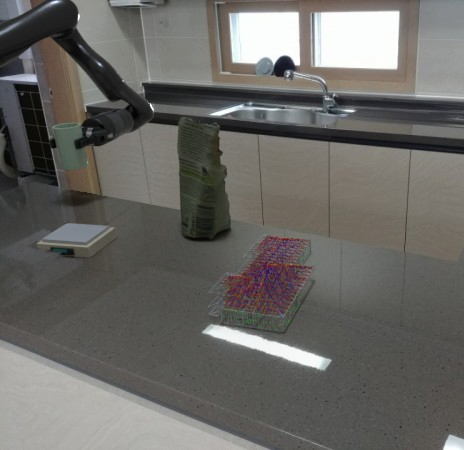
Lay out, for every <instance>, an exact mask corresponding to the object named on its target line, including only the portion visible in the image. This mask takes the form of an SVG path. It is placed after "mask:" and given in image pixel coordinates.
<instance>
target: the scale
mask: <svg viewBox="0 0 464 450" xmlns="http://www.w3.org/2000/svg"><path fill="white" fill-rule="evenodd" d="M117 238H118V236H117V231H116V227H114V226H113V227H111V226H110V225H103V224H102V225H101V224H87V223H70V222H67V223H65V224H63V225H61V226H60V227H59V228H56V229H55V230H54V231H52V232H51V233H48V234H47V235H46V236H44V237H42V238H41V240H40V241H38V242H37V243H36V248H37V249H38V250H47V251H51V252H60V253H58V255H63V256H62V257H71V256H73V257H72V258H83V257H84V258H85V259H91V258H93V256H95V255H97V253H99V252H100V251H102V250H103V249H104V248H106V247H107V246H108V245H110V244H111V243H112V242H113V241H114V240H116V239H117ZM74 256H75V257H74Z"/></svg>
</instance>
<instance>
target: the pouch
mask: <svg viewBox="0 0 464 450" xmlns="http://www.w3.org/2000/svg"><path fill="white" fill-rule="evenodd" d="M200 122H201V121H200V117H198V118H197V120H193V119H192V118H190V117H187V116H182V117H179V120H178V121H177V125H178V126H177V127H178V129H177V143H176V145H177V146H176V150H177V156H178V167H179V168H178V178H179V206H180V207H179V209H180V221H181V226H180V228H181V233H182V234H183V235H184V236H185V237H188V238H193V239H195V238H208V239H210V240H213V238H214V237H215V236H216V235H217V234H218V233H220V232H223V231H225V230H232V227H231V225H232V222H231V221H232V218H231V212H230V207H231V206H230V200H229V195H228V193H227V191H226V180H225V179H226V178H227V177H228V172H227V170H228V168H227V166H226V165H225V164H222V161H221V156H223V153H224V151H223V150H221V149H220V140H221V137H220V136H219V135H220V130H221V125H220V124H218V123H217V122H212V123H210V124H209V123H207V122H204V123H200Z"/></svg>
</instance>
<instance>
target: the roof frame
mask: <svg viewBox="0 0 464 450" xmlns="http://www.w3.org/2000/svg"><path fill="white" fill-rule="evenodd" d="M291 251H292V252H291ZM287 253H288V254H289V255H288V254H287ZM311 253H312V239H311V238H310V239H309V238H299V237H297V238H296V237H285V236H278V235H277V236H274V235H271V234H264V233H263V234H262V235H261V236H260V237H259V238H258V240H257V241H256V242H255V243H254V244H253V245H252V246H251V248H249V250H248V251H247V252H246V253H245V254H244V255H243V258H244V259H248V260H246V262H245V263H244V264H243V265H242V266H241V267H240V269H239V270H238V271H237V272H236V273H234V272H225V273H224V274H223V275H222V276H221V277H220V278H219V280H218V281H217V282H215V284H214V285H213V286H212V287H211V288H210V289H209V291H208V292H207V293H208V294H212V295H216V297H215V298H214V299H213V300H212V301H210V303H209V304H208V306H207V308H209V309H212V310H210V312H209V313H208V316H211V317H217V318H220V321H221V324H226V325H227V324H228V325H235V326H239V325H240V326H241V327H247V328H248V327H249V328H255V329H260V330H261V329H262V330H267V331H273V330H274V331H275V332H282V333H284V332H285V331H286V330H287V328H288V326H289V325H290V323H291V321H292V319H293V317H294V316H295V314H296V312H297V310H298V309H299V307H300V306H301V304H302V293H301V292H302V291H303V290H304V288H305V286H306V284H307V283H308V281H309V279H310V278H311V277H312V275H313V273H314V271H315V270H316V266H315V265H308V264H306V265H305V262H306V261H307V259H308V258H309V256H310V255H311ZM251 259H252V260H251ZM301 261H302V262H301ZM244 267H245V268H244ZM306 272H307V273H308V274H307V273H306ZM298 273H299V274H298ZM301 274H302V275H301ZM304 276H305V277H304ZM293 280H294V281H293ZM300 284H301V285H300ZM274 285H276V286H274ZM297 287H299V288H297ZM214 291H215V292H214ZM278 291H279V292H278ZM217 292H218V293H217ZM280 292H281V293H280ZM266 295H267V296H266ZM279 296H281V297H280V298H279ZM270 298H271V300H272V301H271V300H268V299H270ZM275 300H277V301H275ZM280 301H281V302H280ZM286 301H288V302H291V303H288V302H286ZM270 303H271V305H270ZM296 303H298V305H297V306H296ZM274 304H276V306H275V307H274ZM284 305H287V306H288V307H286V306H284ZM230 307H231V309H230ZM234 308H236V309H234ZM216 309H217V310H216ZM241 309H242V310H241ZM282 309H283V310H284V309H285V310H286V311H283V310H282ZM213 311H214V312H213ZM266 311H267V312H271V314H270V315H269V314H265V313H266ZM278 312H279V314H280V315H278V316H277V313H278ZM216 313H217V314H216ZM273 313H274V315H272V314H273ZM288 314H289V315H291V317H289V320H288V321H287V318H286V316H287V315H288ZM231 315H232V316H231ZM238 315H239V316H238ZM245 316H246V319H245ZM265 316H266V317H265ZM268 316H269V317H271V318H269V320H267V318H268ZM232 317H233V319H232ZM240 319H241V322H242V324H241V323H240ZM261 319H262V323H263V325H264V326H262V325H261V326H260V325H259V321H260V320H261ZM264 319H265V320H266V321H265V320H264ZM225 320H226V321H225ZM233 320H234V323H233ZM271 320H278V322H282V323H278V326H282V328H275V325H274V324H275V323H274V321H272V322H271ZM236 322H238V323H236ZM250 324H252V325H250ZM265 324H266V325H265ZM269 327H270V328H269Z"/></svg>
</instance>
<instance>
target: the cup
mask: <svg viewBox="0 0 464 450" xmlns="http://www.w3.org/2000/svg"><path fill="white" fill-rule="evenodd" d="M81 125H82V123H80V122H64V123H58V124H55V125H53V126H52V127H51V130H52V135H53V134H54V139H55V143H56V148H55V149H56V152H57V156H58V160H59V165H60V169H61V170H64V171H75V170H82V169H84V168H86V167H88V166H89V159H88V153H87V150H86V147H84V148H81V149H76V148H75V143H74V141H75V140H76V139H79V138H81V137H83V134H82V129H81Z"/></svg>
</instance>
